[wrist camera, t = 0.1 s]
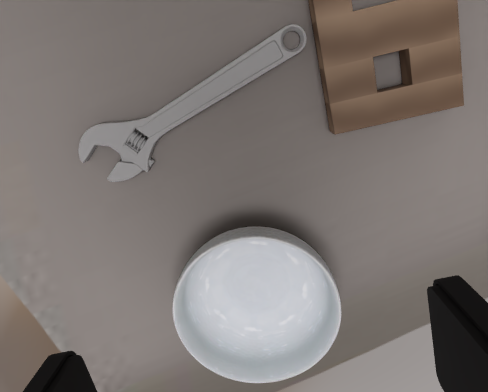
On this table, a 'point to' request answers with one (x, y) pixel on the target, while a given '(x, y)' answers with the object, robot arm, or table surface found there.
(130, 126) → the adjustable wrench
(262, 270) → the cereal bowl
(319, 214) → the table surface
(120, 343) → the table surface
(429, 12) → the socket board
